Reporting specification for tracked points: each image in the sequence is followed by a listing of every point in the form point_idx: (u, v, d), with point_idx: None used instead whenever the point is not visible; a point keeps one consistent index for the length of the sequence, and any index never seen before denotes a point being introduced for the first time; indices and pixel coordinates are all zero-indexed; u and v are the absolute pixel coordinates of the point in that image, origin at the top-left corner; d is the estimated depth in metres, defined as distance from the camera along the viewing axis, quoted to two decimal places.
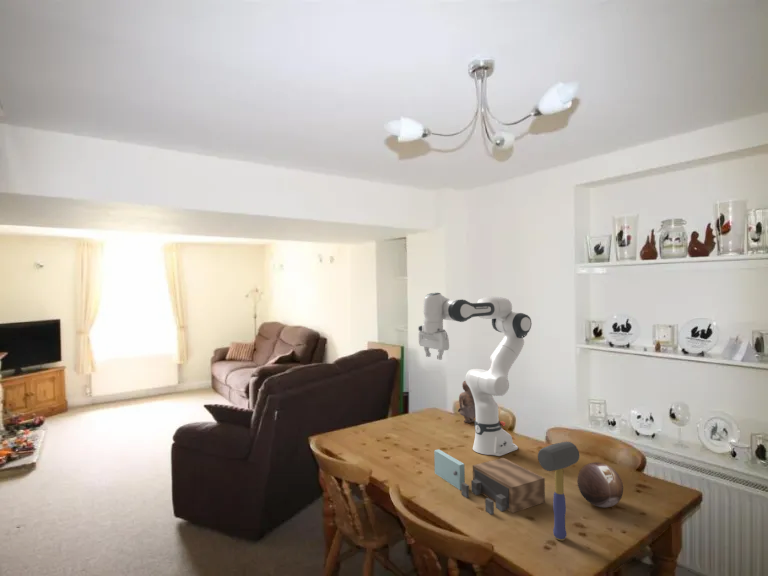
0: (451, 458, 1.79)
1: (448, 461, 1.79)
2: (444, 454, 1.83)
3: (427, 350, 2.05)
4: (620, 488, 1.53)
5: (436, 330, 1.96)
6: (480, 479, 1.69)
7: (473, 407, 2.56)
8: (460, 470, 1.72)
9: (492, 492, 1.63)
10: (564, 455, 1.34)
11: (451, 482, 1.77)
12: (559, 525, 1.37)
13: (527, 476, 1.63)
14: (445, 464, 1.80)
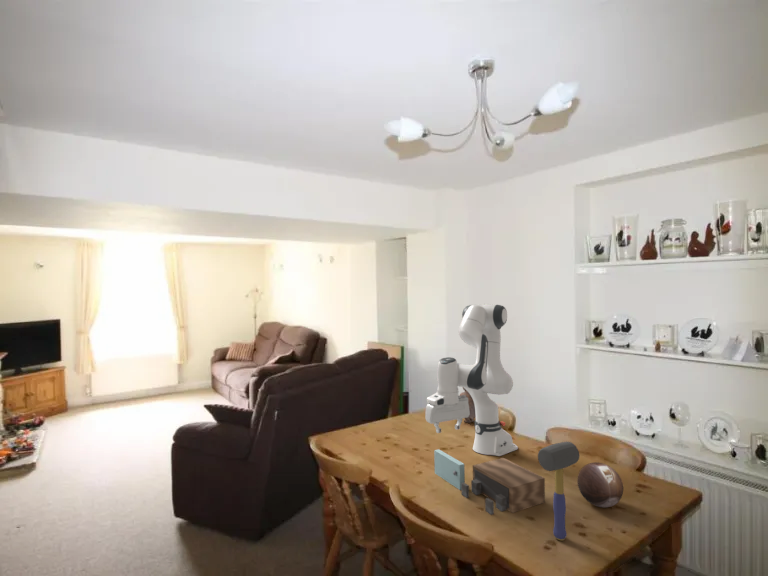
0: (451, 458, 1.79)
1: (448, 461, 1.79)
2: (444, 454, 1.83)
3: None
4: (620, 488, 1.53)
5: None
6: (480, 479, 1.69)
7: (473, 407, 2.56)
8: (460, 470, 1.72)
9: (492, 492, 1.63)
10: (564, 455, 1.34)
11: (451, 482, 1.77)
12: (559, 525, 1.37)
13: (527, 476, 1.63)
14: (445, 464, 1.80)
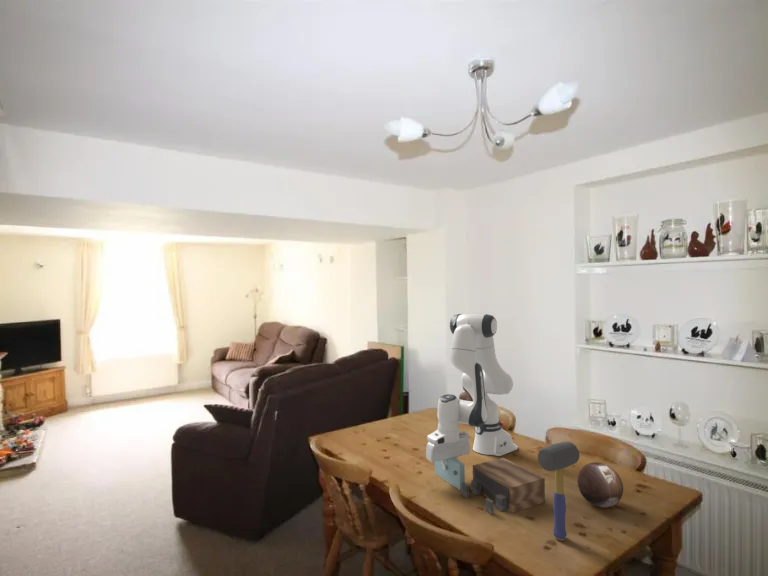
0: (451, 458, 1.79)
1: (448, 461, 1.79)
2: None
3: None
4: (620, 488, 1.53)
5: None
6: (480, 479, 1.69)
7: None
8: (460, 469, 1.72)
9: (492, 492, 1.63)
10: (564, 455, 1.34)
11: (451, 481, 1.77)
12: (559, 525, 1.37)
13: (527, 476, 1.63)
14: None
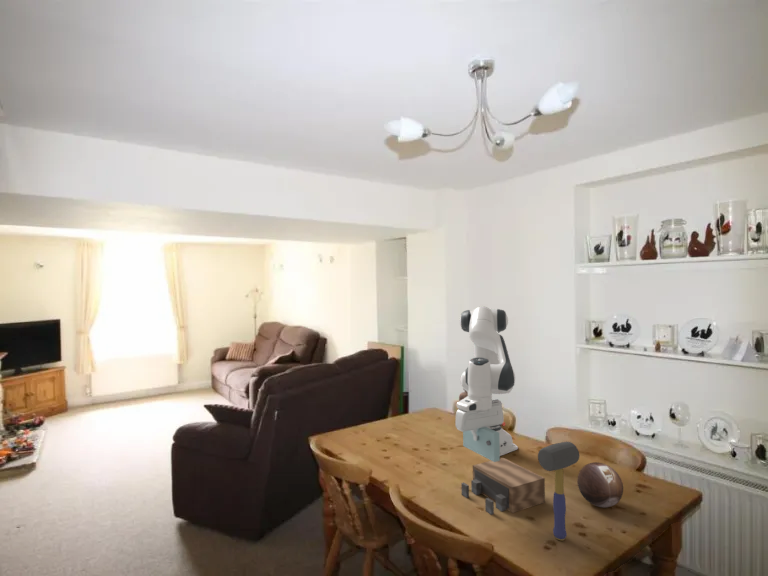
0: (483, 427, 1.60)
1: (479, 431, 1.60)
2: None
3: None
4: (620, 488, 1.53)
5: None
6: (480, 479, 1.69)
7: None
8: (494, 439, 1.54)
9: (492, 492, 1.63)
10: (564, 455, 1.34)
11: (483, 453, 1.59)
12: (559, 525, 1.37)
13: (527, 476, 1.63)
14: (477, 434, 1.62)
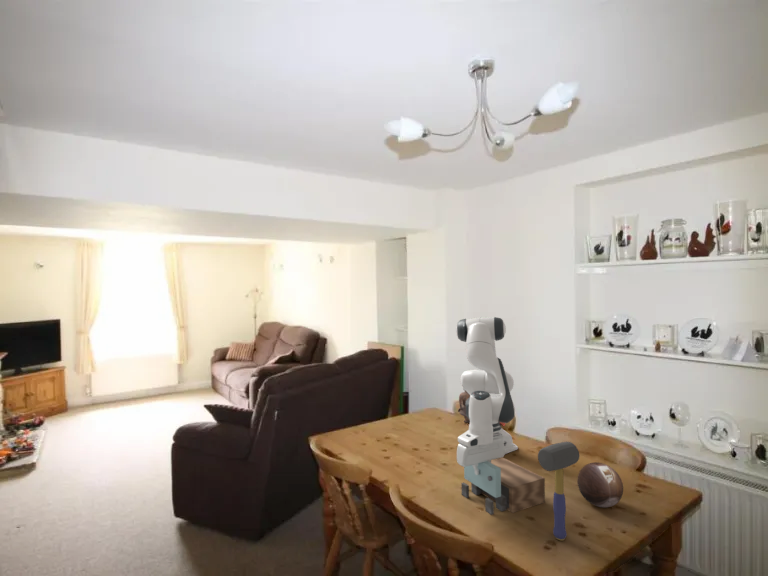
0: None
1: (481, 465, 1.60)
2: None
3: None
4: (620, 488, 1.53)
5: None
6: None
7: None
8: (496, 475, 1.53)
9: None
10: (564, 455, 1.34)
11: (484, 488, 1.59)
12: (559, 525, 1.37)
13: (527, 476, 1.63)
14: (478, 468, 1.62)
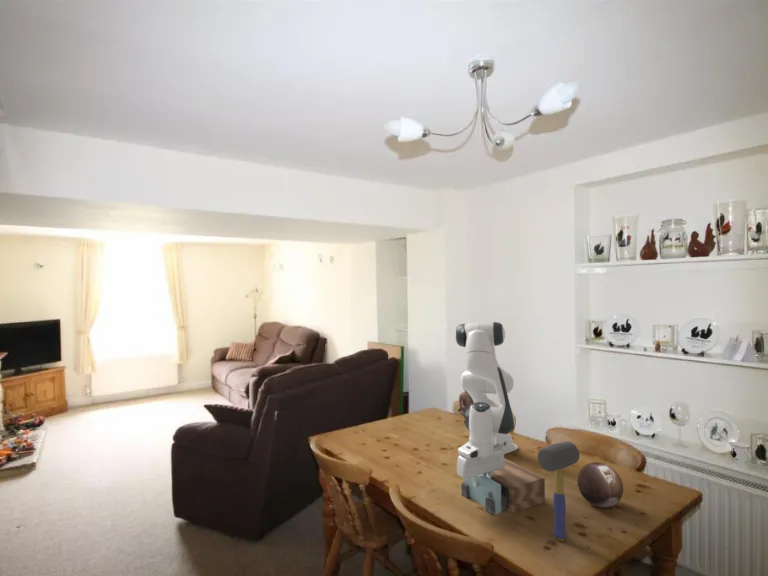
0: (485, 477, 1.60)
1: (481, 481, 1.60)
2: None
3: None
4: (620, 488, 1.53)
5: None
6: None
7: None
8: (496, 491, 1.53)
9: None
10: (564, 455, 1.34)
11: None
12: (559, 525, 1.37)
13: (527, 476, 1.63)
14: None
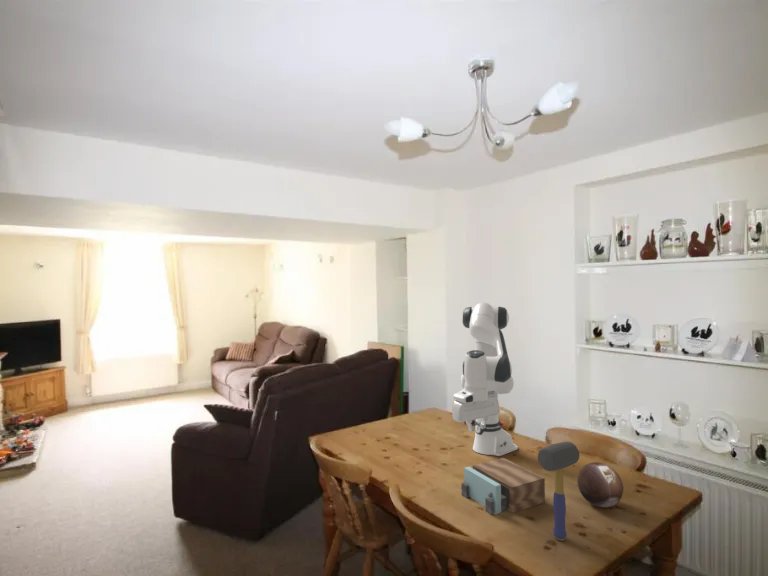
0: (485, 477, 1.60)
1: (481, 481, 1.60)
2: (476, 472, 1.65)
3: None
4: (620, 488, 1.53)
5: None
6: None
7: None
8: (496, 491, 1.53)
9: None
10: (564, 455, 1.34)
11: None
12: (559, 525, 1.37)
13: (527, 476, 1.63)
14: (478, 484, 1.62)
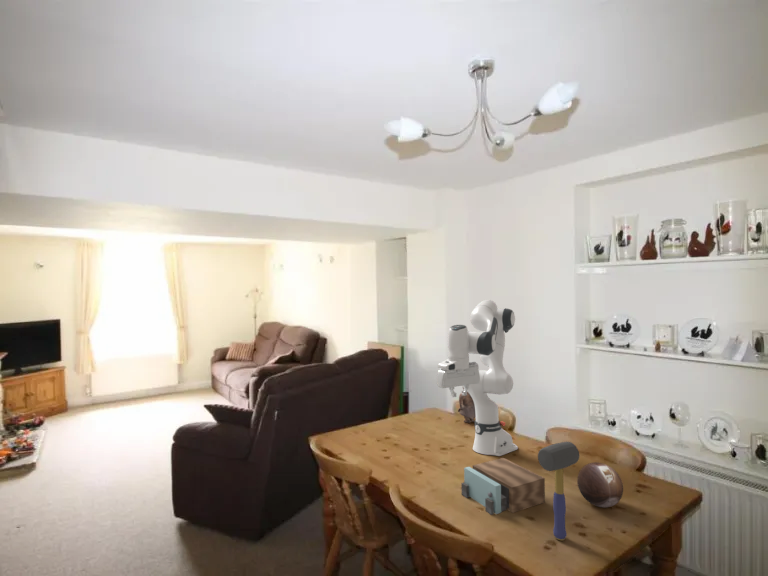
0: (485, 477, 1.60)
1: (481, 481, 1.60)
2: (476, 472, 1.65)
3: None
4: (620, 488, 1.53)
5: None
6: None
7: (473, 407, 2.56)
8: (496, 491, 1.53)
9: None
10: (564, 455, 1.34)
11: None
12: (559, 525, 1.37)
13: (527, 476, 1.63)
14: (478, 484, 1.62)
